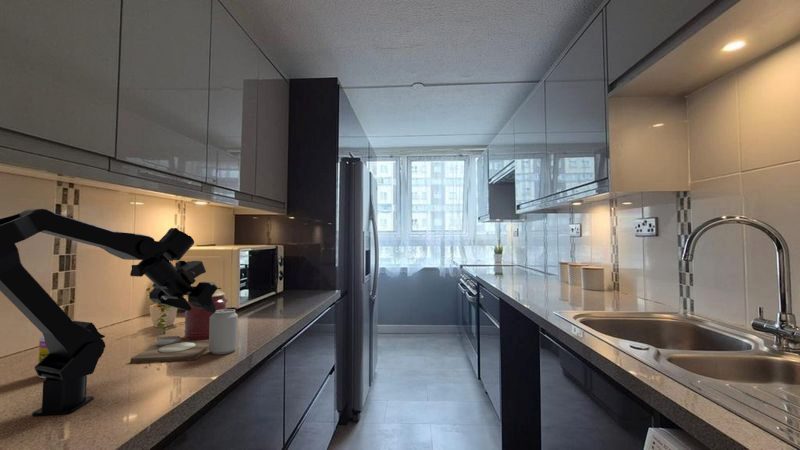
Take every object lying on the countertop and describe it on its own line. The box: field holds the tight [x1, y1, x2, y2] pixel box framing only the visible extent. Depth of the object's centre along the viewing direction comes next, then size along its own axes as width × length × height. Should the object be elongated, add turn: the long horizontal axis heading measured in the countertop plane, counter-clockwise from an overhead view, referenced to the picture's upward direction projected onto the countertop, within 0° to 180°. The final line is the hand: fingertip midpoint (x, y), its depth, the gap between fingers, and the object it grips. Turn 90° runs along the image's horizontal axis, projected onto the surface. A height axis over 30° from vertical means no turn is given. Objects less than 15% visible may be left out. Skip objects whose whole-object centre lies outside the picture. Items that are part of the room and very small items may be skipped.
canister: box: [183, 289, 228, 341], centre depth 121 cm, size 13×13×18 cm
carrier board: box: [130, 335, 209, 364], centre depth 103 cm, size 16×16×3 cm
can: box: [208, 308, 239, 355], centre depth 104 cm, size 8×8×12 cm
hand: (202, 310), depth 97 cm, fingers open, 9 cm apart
